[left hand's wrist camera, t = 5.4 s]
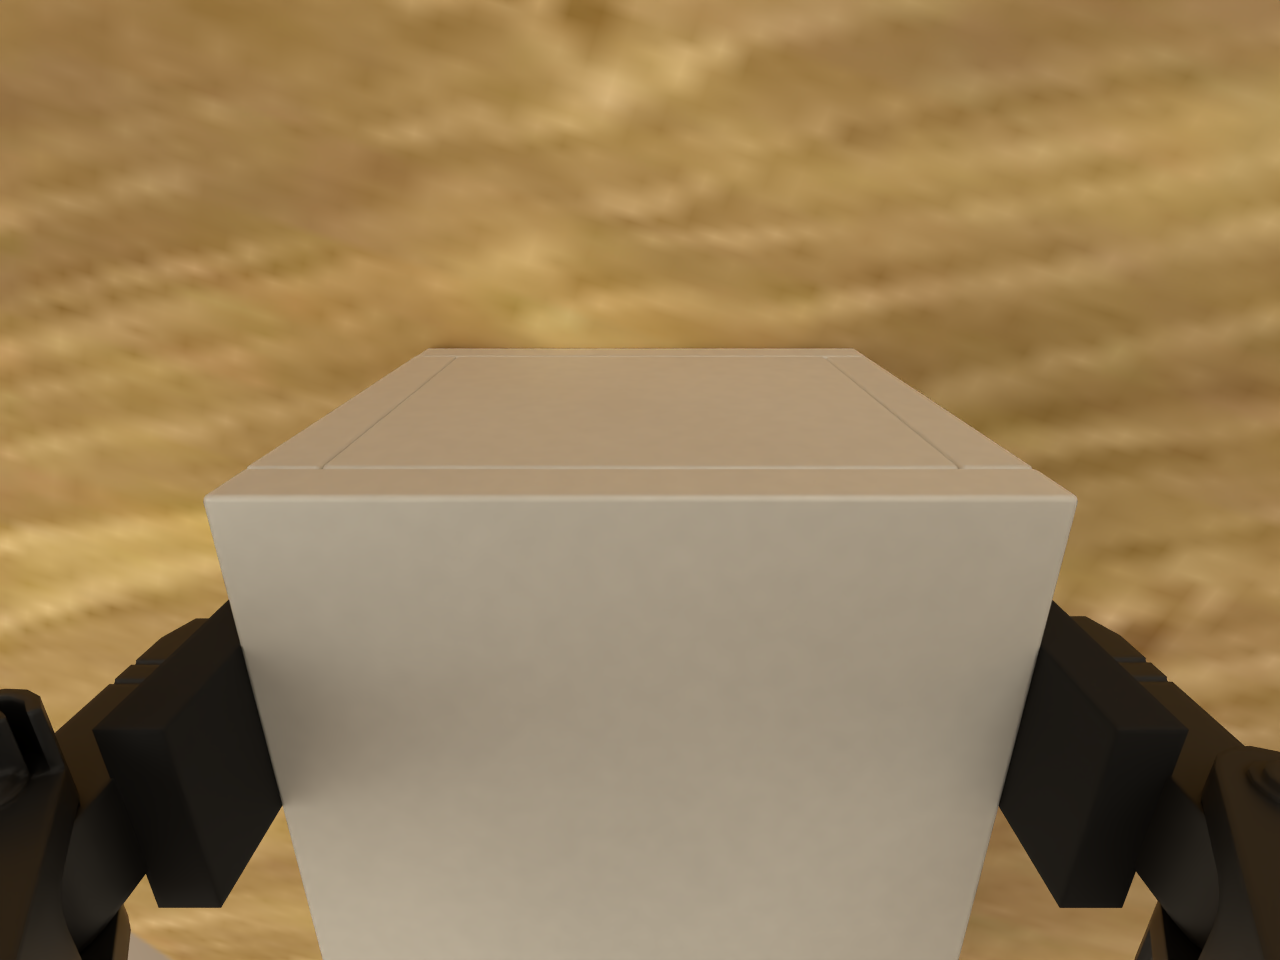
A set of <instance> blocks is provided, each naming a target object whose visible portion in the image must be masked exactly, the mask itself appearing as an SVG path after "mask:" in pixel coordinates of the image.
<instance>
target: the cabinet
mask: <svg viewBox="0 0 1280 960" xmlns="http://www.w3.org/2000/svg"><path fill="white" fill-rule="evenodd" d="M204 506H205V510H206V513H207V517H208V521H209V525H210V529H211V533H212V536H213V540H214V544H215V548H216V552H217V556H218V559H219V563H220V567H221V571H222V575H223V579H224V582H225V586H226V590H227V594H228V598H229V602H230V605H231V609H232V613H233V617H234V621H235V625H236V628H237V632H238V636H239V640H240V644H241V648H242V651H243V655H244V659H245V663H246V667H247V671H248V675H249V678H250V682H251V686H252V690H253V694H254V698H255V701H256V705H257V709H258V713H259V717H260V721H261V724H262V728H263V732H264V736H265V740H266V744H267V747H268V751H269V755H270V759H271V763H272V767H273V770H274V774H275V778H276V782H277V786H278V790H279V793H280V797H281V801H282V805H283V809H284V813H285V816H286V820H287V824H288V828H289V832H290V836H291V839H292V843H293V847H294V851H295V855H296V859H297V863H298V866H299V870H300V874H301V878H302V882H303V886H304V889H305V893H306V897H307V901H308V905H309V909H310V912H311V916H312V920H313V924H314V928H315V932H316V935H317V939H318V943H319V947H320V951H321V955H322V958H323V960H959V956H960V952H961V948H962V944H963V941H964V937H965V933H966V929H967V925H968V921H969V917H970V914H971V910H972V906H973V902H974V898H975V894H976V891H977V887H978V883H979V879H980V875H981V871H982V867H983V864H984V860H985V856H986V852H987V848H988V844H989V841H990V837H991V833H992V829H993V825H994V821H995V818H996V814H997V810H998V806H999V802H1000V798H1001V794H1002V791H1003V787H1004V783H1005V779H1006V775H1007V771H1008V768H1009V764H1010V760H1011V756H1012V752H1013V748H1014V745H1015V741H1016V737H1017V733H1018V729H1019V725H1020V721H1021V718H1022V714H1023V710H1024V706H1025V702H1026V698H1027V695H1028V691H1029V687H1030V683H1031V679H1032V675H1033V672H1034V668H1035V664H1036V660H1037V656H1038V652H1039V648H1040V645H1041V641H1042V637H1043V633H1044V629H1045V625H1046V622H1047V618H1048V614H1049V610H1050V606H1051V602H1052V598H1053V595H1054V591H1055V587H1056V583H1057V579H1058V575H1059V572H1060V568H1061V564H1062V560H1063V556H1064V552H1065V549H1066V545H1067V541H1068V537H1069V533H1070V529H1071V525H1072V522H1073V518H1074V514H1075V510H1076V506H1077V497H1076V495H1074V494H1073V493H1071V492H1069V491H1068V490H1066V489H1065V488H1063V487H1062V486H1060V485H1059V484H1057V483H1056V482H1054V481H1053V480H1051V479H1050V478H1048V477H1047V476H1045V475H1044V474H1042V473H1041V472H1039V471H1037V470H1035V469H1032V467H1031V466H1030V465H1028V464H1027V463H1025V462H1024V461H1022V460H1021V459H1019V458H1018V457H1016V456H1015V455H1013V454H1012V453H1010V452H1009V451H1007V450H1006V449H1004V448H1003V447H1001V446H1000V445H998V444H997V443H995V442H994V441H992V440H991V439H989V438H988V437H986V436H984V435H983V434H981V433H980V432H978V431H977V430H975V429H974V428H972V427H971V426H969V425H968V424H966V423H965V422H963V421H962V420H960V419H959V418H957V417H956V416H954V415H953V414H951V413H950V412H948V411H947V410H945V409H944V408H942V407H941V406H939V405H938V404H936V403H935V402H933V401H932V400H930V399H929V398H927V397H926V396H924V395H923V394H921V393H920V392H918V391H917V390H915V389H914V388H912V387H911V386H909V385H908V384H906V383H905V382H903V381H901V380H900V379H898V378H897V377H895V376H894V375H892V374H891V373H889V372H888V371H886V370H885V369H883V368H882V367H880V366H879V365H877V364H876V363H874V362H873V361H871V360H870V359H868V358H866V357H865V356H864V355H863V354H861V353H860V352H858V351H857V350H855V349H853V348H429V349H427V350H425V351H424V352H422V353H421V354H419V355H418V356H416V357H414V358H412V359H411V360H409V361H408V362H406V363H405V364H403V365H402V366H400V367H398V368H397V369H395V370H394V371H392V372H391V373H389V374H388V375H386V376H385V377H383V378H382V379H380V380H379V381H377V382H376V383H374V384H373V385H371V386H369V387H368V388H366V389H365V390H363V391H362V392H360V393H359V394H357V395H356V396H354V397H353V398H351V399H350V400H348V401H347V402H345V403H344V404H342V405H341V406H339V407H337V408H336V409H334V410H333V411H331V412H330V413H328V414H327V415H325V416H324V417H322V418H321V419H319V420H318V421H316V422H315V423H313V424H312V425H310V426H309V427H307V428H305V429H304V430H302V431H301V432H299V433H298V434H296V435H295V436H293V437H292V438H290V439H289V440H287V441H286V442H284V443H283V444H281V445H280V446H278V447H277V448H275V449H273V450H272V451H270V452H269V453H267V454H266V455H264V456H263V457H261V458H260V459H258V460H257V461H255V462H254V463H252V464H251V465H249V466H248V467H247V469H246V470H243V471H242V472H240V473H239V474H237V475H236V476H234V477H233V478H231V479H230V480H228V481H226V482H225V483H223V484H222V485H220V486H219V487H217V488H216V489H214V490H213V491H211V492H210V493H208V494H207V495H205V497H204Z"/></svg>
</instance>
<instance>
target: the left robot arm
mask: <svg viewBox="0 0 1280 960" xmlns="http://www.w3.org/2000/svg"><path fill="white" fill-rule="evenodd" d="M281 807H282V801H281V797H280V793H279V790H278V786H277V782H276V778H275V774H274V770H273V767H272V763H271V759H270V755H269V751H268V747H267V744H266V740H265V736H264V732H263V728H262V724H261V721H260V717H259V713H258V709H257V705H256V701H255V698H254V694H253V690H252V686H251V682H250V678H249V675H248V671H247V667H246V663H245V659H244V655H243V651H242V648H241V644H240V640H239V636H238V632H237V628H236V625H235V621H234V617H233V613H232V609H231V605H230V602H229V600H228V601H227V602H226V603H225V604H224V605H223V606H222V607H221V608H220V609H218V610H217V611H216V612H215V613H214V614H213V615H212V616H211V617H210V618H209V619H194V620H192V621H191V622H189V623H187V624H185V625H183V626H182V627H180V628H178V629H176V630H174V631H173V632H171V633H169V634H167V635H165V636H164V637H162V638H161V639H159V640H158V641H157V642H156V643H155V644H154V645H153V646H152V647H150V648H149V649H148V650H147V651H146V652H145V653H144V654H143V655H142V656H140V657H139V658H138V659H137V660H136V664H135V665H130V666H129V667H128V668H127V669H126V670H125V671H124V672H123V673H121V674H120V675H119V676H118V677H117V678H116V679H115V683H114V684H109V685H108V686H107V687H106V688H105V689H104V690H102V691H101V692H100V693H99V694H98V695H97V696H96V697H95V698H93V699H92V700H91V701H90V702H89V703H88V704H87V705H86V706H85V707H83V708H82V709H81V710H80V711H79V712H78V713H77V714H76V715H75V716H73V717H72V718H71V719H70V720H69V721H68V722H67V723H66V724H64V725H63V726H62V727H61V728H60V729H59V730H58V731H57V732H56V733H54V730H53V728H52V725H51V723H50V720H49V718H48V715H47V713H46V711H45V708H44V706H43V703H42V701H41V698H40V696H38V695H36V694H34V693H33V692H31V691H29V690H22V689H1V690H0V960H127V959H128V950H129V941H130V932H131V929H130V924H129V919H128V914H127V912H126V909H125V907H124V902H125V901H126V899H127V898H128V897H129V895H130V894H131V893H132V891H133V890H134V889H135V887H136V886H137V885H138V883H139V882H140V881H141V879H142V878H143V877H144V875H145V874H146V875H147V878H148V880H149V883H150V886H151V888H152V891H153V894H154V896H155V899H156V902H157V904H158V907H159V908H221V907H222V905H223V904H224V902H225V900H226V899H227V897H228V895H229V894H230V892H231V890H232V889H233V887H234V885H235V884H236V882H237V880H238V879H239V877H240V875H241V874H242V872H243V870H244V869H245V867H246V865H247V864H248V862H249V860H250V859H251V857H252V855H253V854H254V852H255V850H256V849H257V847H258V845H259V844H260V842H261V840H262V839H263V837H264V835H265V833H266V832H267V830H268V828H269V827H270V825H271V823H272V822H273V820H274V818H275V817H276V815H277V813H278V812H279V810H280V808H281ZM999 807H1000V809H1001V811H1002V812H1003V814H1004V816H1005V817H1006V819H1007V821H1008V822H1009V824H1010V826H1011V827H1012V829H1013V831H1014V832H1015V834H1016V836H1017V837H1018V839H1019V841H1020V842H1021V844H1022V846H1023V847H1024V849H1025V851H1026V852H1027V854H1028V856H1029V857H1030V859H1031V861H1032V862H1033V864H1034V866H1035V867H1036V869H1037V871H1038V872H1039V874H1040V876H1041V877H1042V879H1043V881H1044V882H1045V884H1046V886H1047V887H1048V889H1049V891H1050V892H1051V894H1052V896H1053V897H1054V899H1055V901H1056V902H1057V904H1058V906H1059V907H1060V908H1122V907H1123V904H1124V901H1125V899H1126V896H1127V893H1128V891H1129V888H1130V885H1131V883H1132V880H1133V877H1134V875H1135V872H1137V873H1138V875H1139V876H1140V877H1141V879H1142V880H1143V881H1144V883H1145V884H1146V885H1147V887H1148V888H1149V889H1150V891H1151V892H1152V893H1153V895H1154V896H1155V897H1156V899H1157V900H1158V902H1157V904H1156V907H1155V909H1154V912H1153V914H1152V917H1151V919H1150V922H1149V924H1148V927H1147V929H1146V932H1145V934H1144V937H1143V939H1142V942H1141V944H1140V947H1139V949H1138V952H1137V954H1136V957H1135V960H1280V752H1278V751H1273V750H1268V749H1263V748H1258V747H1253V746H1244V745H1243V744H1242V743H1241V742H1239V741H1238V740H1237V739H1236V738H1235V737H1234V736H1233V735H1232V734H1230V733H1229V732H1228V731H1227V730H1226V729H1225V728H1224V727H1223V726H1221V725H1220V724H1219V723H1218V722H1217V721H1216V720H1215V719H1214V718H1212V717H1211V716H1210V715H1209V714H1208V713H1207V712H1206V711H1205V710H1203V709H1202V708H1201V707H1200V706H1199V705H1198V704H1197V703H1196V702H1194V701H1193V700H1192V699H1191V698H1190V697H1189V696H1188V695H1187V694H1185V693H1184V692H1183V691H1182V690H1181V689H1180V688H1179V687H1178V686H1176V685H1175V684H1174V683H1173V682H1168V681H1167V677H1166V676H1165V675H1164V674H1163V673H1162V672H1161V671H1160V670H1158V669H1157V668H1156V667H1155V666H1154V665H1153V664H1152V663H1147V662H1146V658H1145V657H1144V656H1143V655H1142V654H1140V653H1139V652H1138V651H1137V650H1136V649H1135V648H1134V647H1133V646H1131V645H1130V644H1129V643H1128V642H1127V641H1126V640H1125V639H1124V638H1122V637H1121V636H1120V635H1118V634H1117V633H1115V632H1113V631H1111V630H1109V629H1108V628H1106V627H1104V626H1102V625H1100V624H1098V623H1097V622H1095V621H1093V620H1091V619H1089V618H1088V617H1086V616H1069V615H1068V614H1067V613H1065V612H1064V611H1063V610H1062V609H1061V608H1060V607H1059V606H1058V605H1057V604H1056V603H1055V602H1054V601H1053V600H1052V602H1051V606H1050V610H1049V614H1048V618H1047V622H1046V625H1045V629H1044V633H1043V637H1042V641H1041V645H1040V648H1039V652H1038V656H1037V660H1036V664H1035V668H1034V672H1033V675H1032V679H1031V683H1030V687H1029V691H1028V695H1027V698H1026V702H1025V706H1024V710H1023V714H1022V718H1021V721H1020V725H1019V729H1018V733H1017V737H1016V741H1015V745H1014V748H1013V752H1012V756H1011V760H1010V764H1009V768H1008V771H1007V775H1006V779H1005V783H1004V787H1003V791H1002V794H1001V798H1000V802H999Z"/></svg>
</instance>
